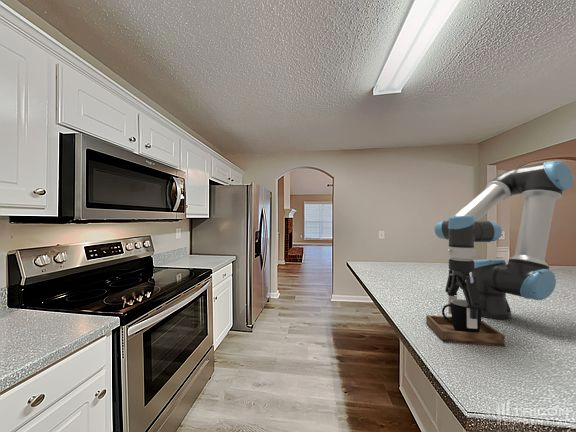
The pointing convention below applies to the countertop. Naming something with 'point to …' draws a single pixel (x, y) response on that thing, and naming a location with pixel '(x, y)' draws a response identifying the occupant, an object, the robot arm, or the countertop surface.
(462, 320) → the mug
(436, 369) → the countertop surface
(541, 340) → the countertop surface
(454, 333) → the walnut tray
